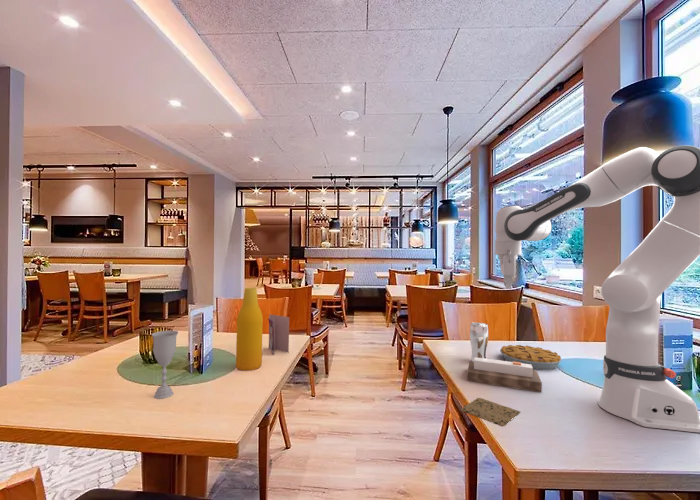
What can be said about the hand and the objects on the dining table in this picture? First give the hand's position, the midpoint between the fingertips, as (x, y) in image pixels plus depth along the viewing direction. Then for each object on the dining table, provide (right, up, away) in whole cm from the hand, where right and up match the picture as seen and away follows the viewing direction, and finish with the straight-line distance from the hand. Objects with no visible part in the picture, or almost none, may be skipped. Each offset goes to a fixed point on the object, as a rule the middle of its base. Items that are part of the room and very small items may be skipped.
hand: (507, 287), depth 122 cm
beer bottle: (-96, -29, 0) cm, 100 cm away
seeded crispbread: (-20, -31, -32) cm, 48 cm away
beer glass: (-6, -31, +11) cm, 34 cm away
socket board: (-6, -31, -9) cm, 33 cm away
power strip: (-6, -30, -9) cm, 32 cm away
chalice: (-113, -29, -25) cm, 119 cm away
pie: (+15, -32, +12) cm, 37 cm away
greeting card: (-89, -30, +20) cm, 96 cm away
